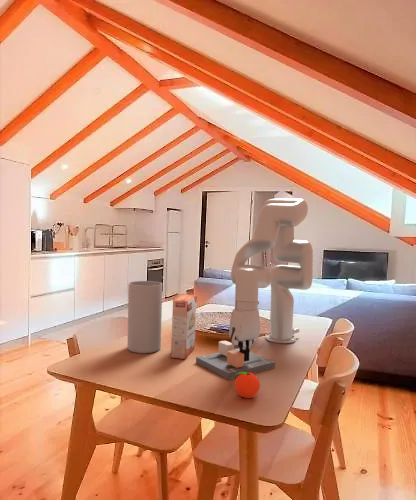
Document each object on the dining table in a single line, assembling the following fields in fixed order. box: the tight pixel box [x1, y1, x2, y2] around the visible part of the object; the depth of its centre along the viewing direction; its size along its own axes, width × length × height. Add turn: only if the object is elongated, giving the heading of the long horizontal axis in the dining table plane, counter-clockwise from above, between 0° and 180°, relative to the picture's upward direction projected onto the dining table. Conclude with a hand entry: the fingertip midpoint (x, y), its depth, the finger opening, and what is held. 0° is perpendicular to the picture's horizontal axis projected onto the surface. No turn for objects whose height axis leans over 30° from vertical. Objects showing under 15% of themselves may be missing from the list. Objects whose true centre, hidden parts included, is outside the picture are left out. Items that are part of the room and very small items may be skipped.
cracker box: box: [170, 293, 198, 360], centre depth 151 cm, size 14×6×21 cm, turn 168°
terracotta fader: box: [227, 350, 244, 368], centre depth 134 cm, size 3×5×4 cm, turn 36°
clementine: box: [233, 372, 261, 399], centre depth 115 cm, size 8×7×7 cm
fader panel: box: [195, 347, 276, 381], centre depth 141 cm, size 20×18×2 cm
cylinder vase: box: [126, 280, 163, 354], centre depth 155 cm, size 12×12×25 cm
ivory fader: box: [217, 340, 235, 356], centre depth 144 cm, size 3×5×4 cm, turn 36°
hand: (244, 359), depth 136 cm, fingers closed
